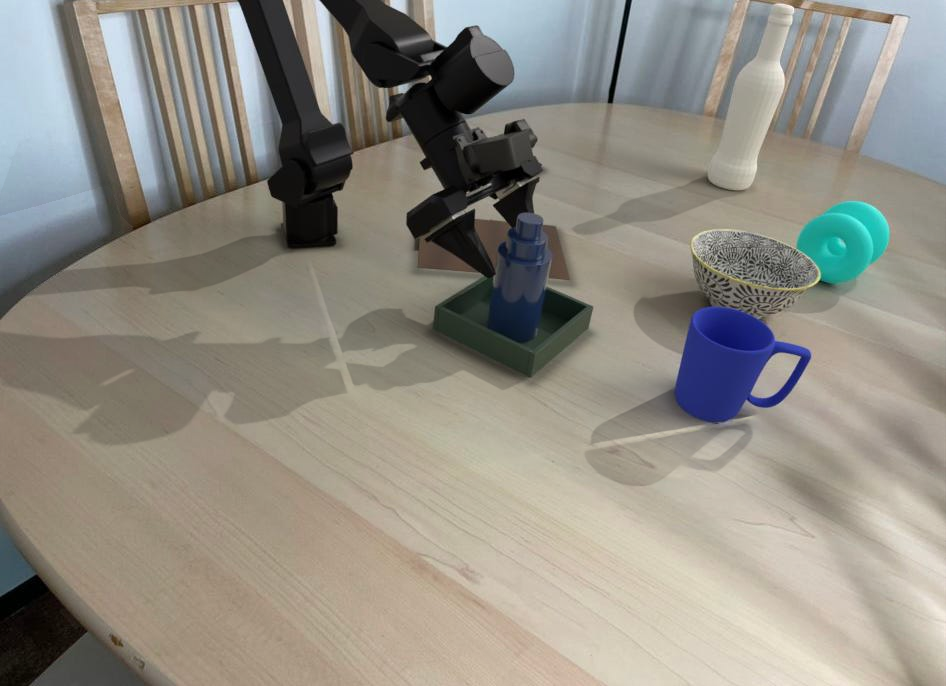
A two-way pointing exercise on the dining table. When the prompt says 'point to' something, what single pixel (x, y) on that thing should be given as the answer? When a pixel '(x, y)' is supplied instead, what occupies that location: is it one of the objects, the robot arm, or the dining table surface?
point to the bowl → (750, 271)
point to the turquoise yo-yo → (844, 240)
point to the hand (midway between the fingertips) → (515, 261)
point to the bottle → (752, 107)
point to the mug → (729, 364)
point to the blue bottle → (520, 280)
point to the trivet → (489, 249)
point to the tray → (468, 326)
